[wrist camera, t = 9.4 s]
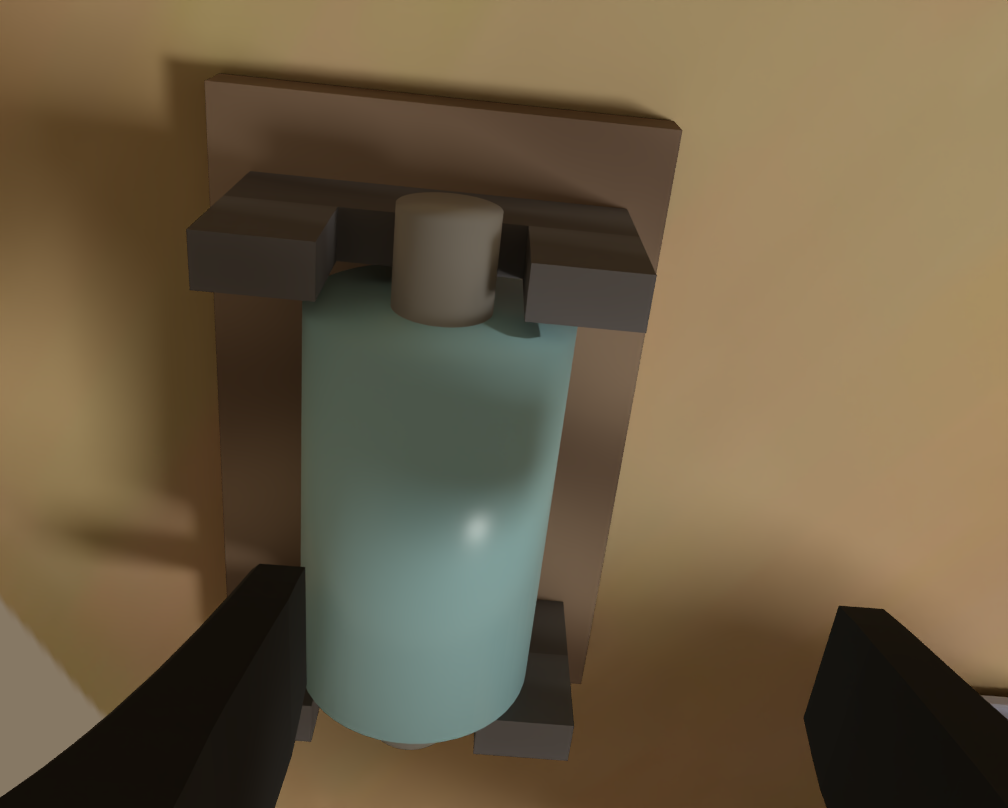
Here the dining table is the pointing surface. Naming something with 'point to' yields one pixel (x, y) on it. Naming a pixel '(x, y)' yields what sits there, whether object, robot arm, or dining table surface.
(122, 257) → the dining table surface
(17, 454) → the dining table surface
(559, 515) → the holder
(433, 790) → the dining table surface
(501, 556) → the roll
